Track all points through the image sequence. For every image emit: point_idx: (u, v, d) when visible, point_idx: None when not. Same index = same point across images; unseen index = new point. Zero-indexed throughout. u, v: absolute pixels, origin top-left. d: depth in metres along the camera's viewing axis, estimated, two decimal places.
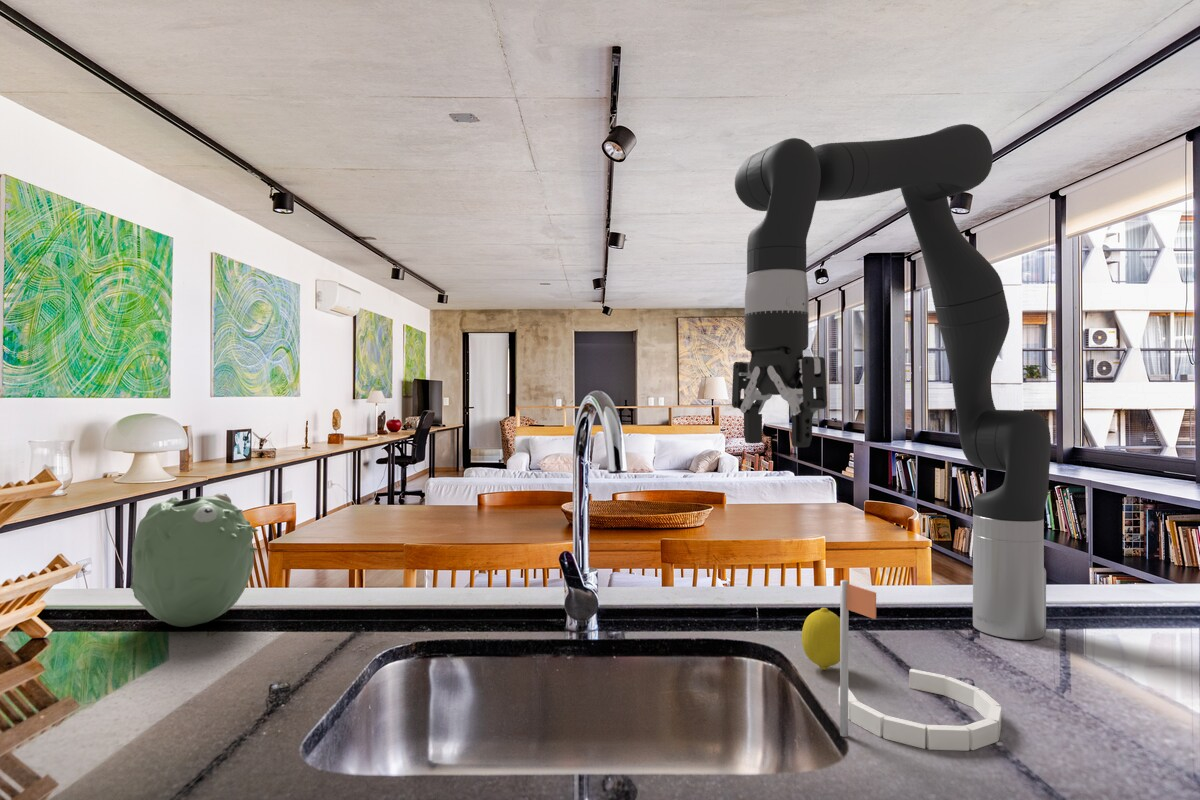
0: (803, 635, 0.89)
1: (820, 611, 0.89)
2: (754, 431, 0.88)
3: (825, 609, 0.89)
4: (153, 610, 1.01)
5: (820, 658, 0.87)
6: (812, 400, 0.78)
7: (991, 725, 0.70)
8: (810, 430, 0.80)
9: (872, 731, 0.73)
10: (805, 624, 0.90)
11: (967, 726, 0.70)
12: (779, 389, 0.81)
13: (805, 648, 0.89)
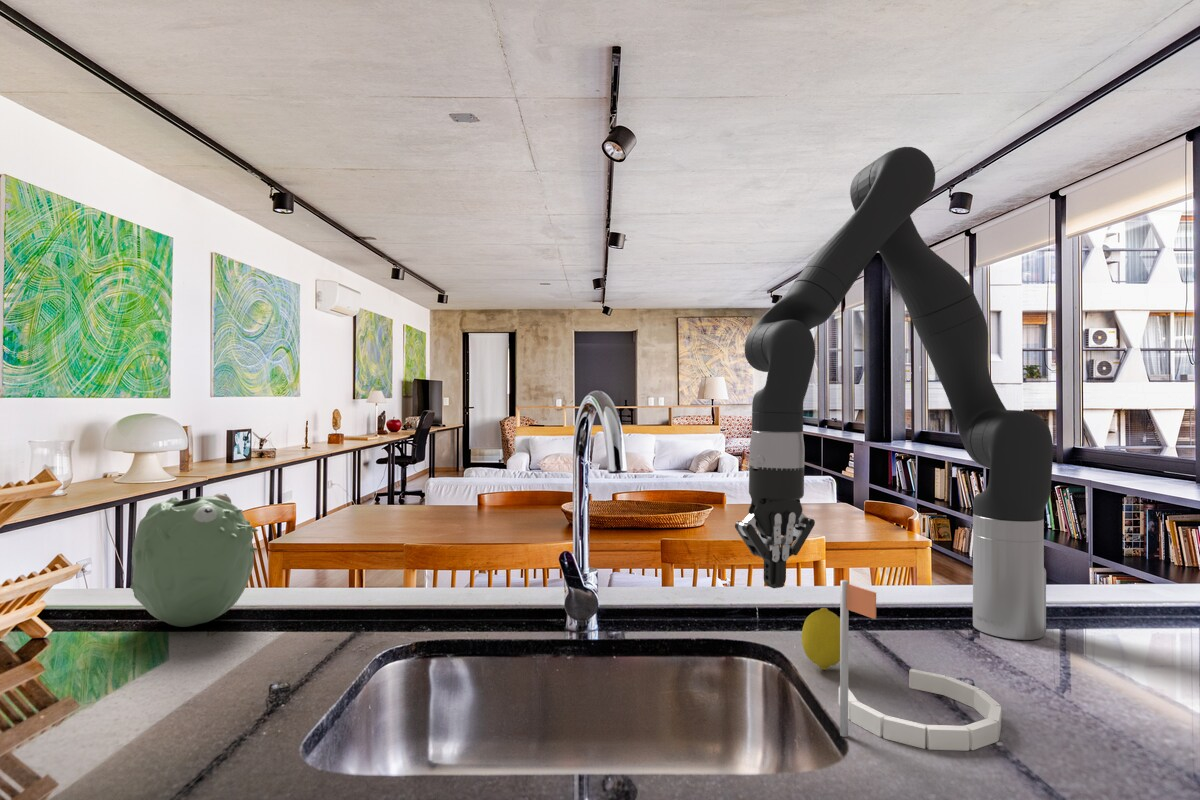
0: (803, 635, 0.89)
1: (820, 611, 0.89)
2: None
3: (825, 609, 0.89)
4: (153, 610, 1.02)
5: (820, 658, 0.87)
6: None
7: (991, 725, 0.70)
8: None
9: (872, 731, 0.73)
10: (805, 624, 0.90)
11: (967, 726, 0.70)
12: (787, 534, 0.97)
13: (805, 648, 0.89)
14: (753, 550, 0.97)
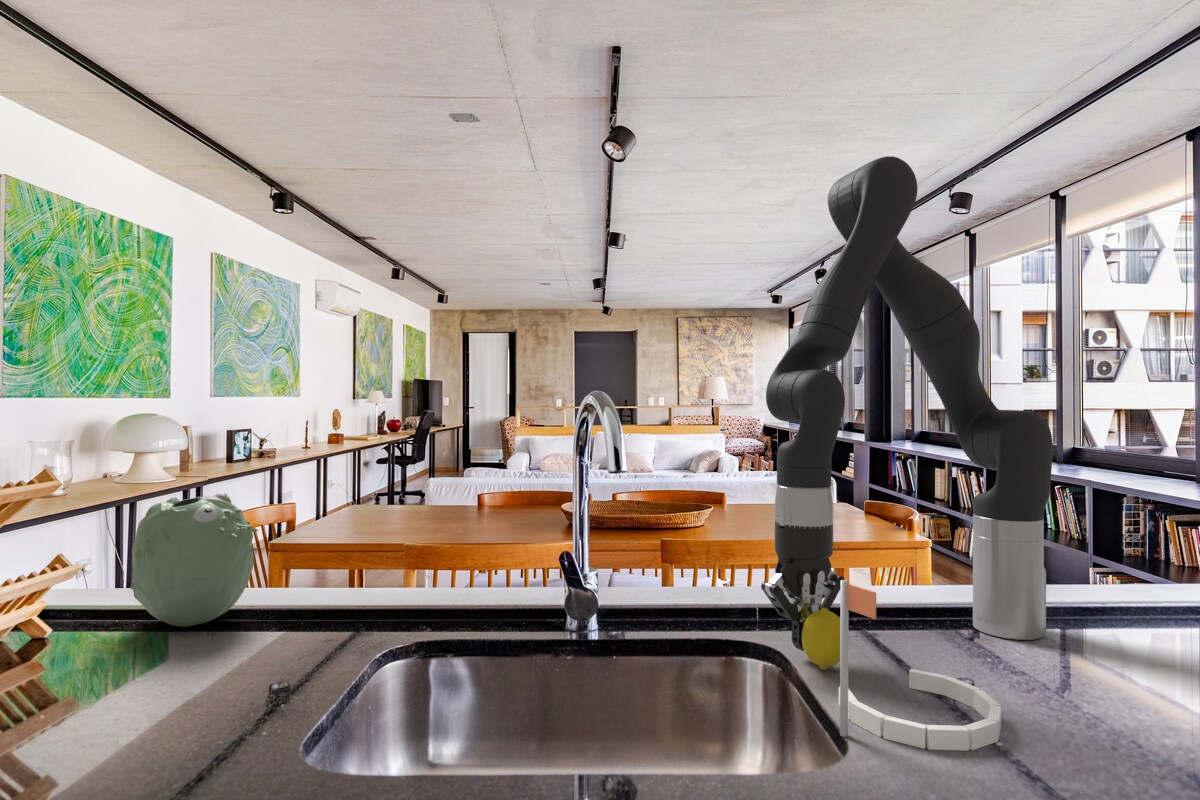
0: (803, 635, 0.89)
1: (820, 611, 0.89)
2: None
3: (825, 609, 0.89)
4: (153, 610, 1.01)
5: (821, 658, 0.87)
6: None
7: (991, 725, 0.70)
8: None
9: (872, 731, 0.73)
10: (805, 624, 0.89)
11: (967, 726, 0.70)
12: (816, 594, 0.92)
13: (805, 648, 0.89)
14: (780, 611, 0.92)
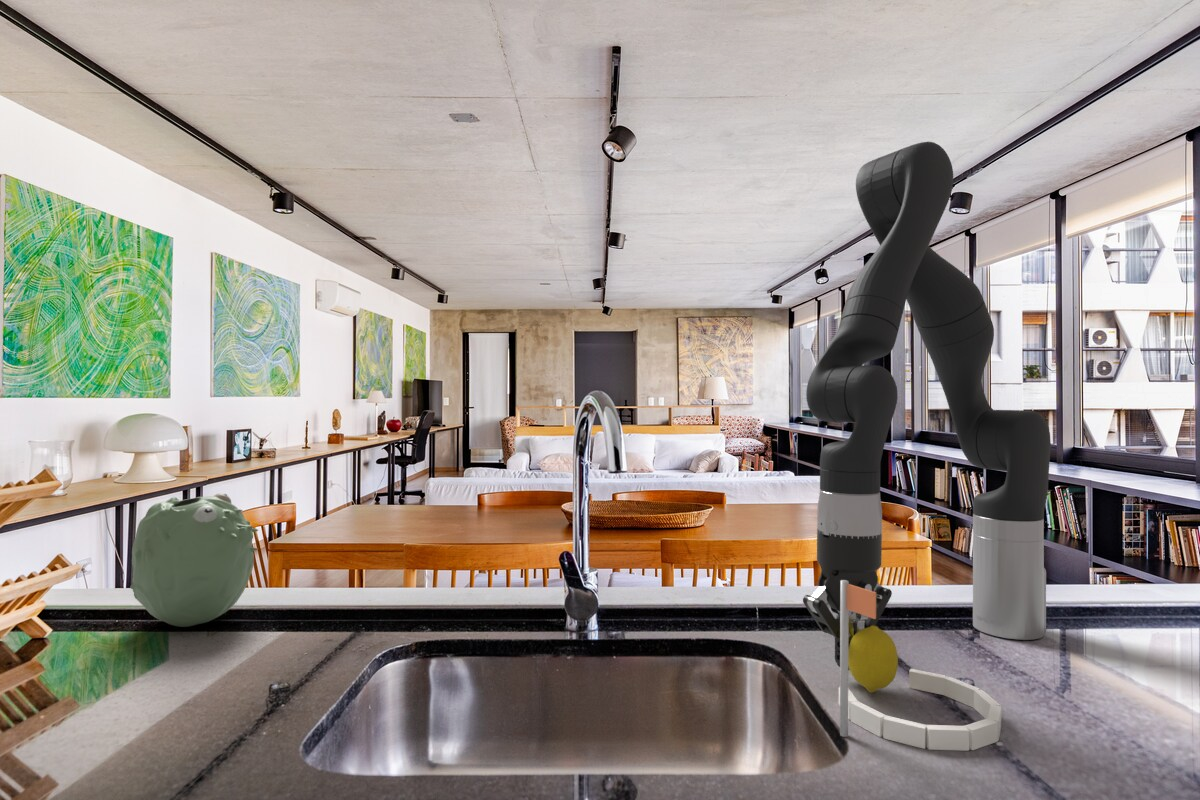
0: (850, 655, 0.82)
1: (870, 629, 0.82)
2: None
3: (875, 627, 0.82)
4: (153, 610, 1.02)
5: (870, 681, 0.80)
6: None
7: (991, 725, 0.70)
8: None
9: (872, 731, 0.73)
10: (853, 643, 0.82)
11: (967, 726, 0.70)
12: None
13: (852, 669, 0.82)
14: (823, 627, 0.85)
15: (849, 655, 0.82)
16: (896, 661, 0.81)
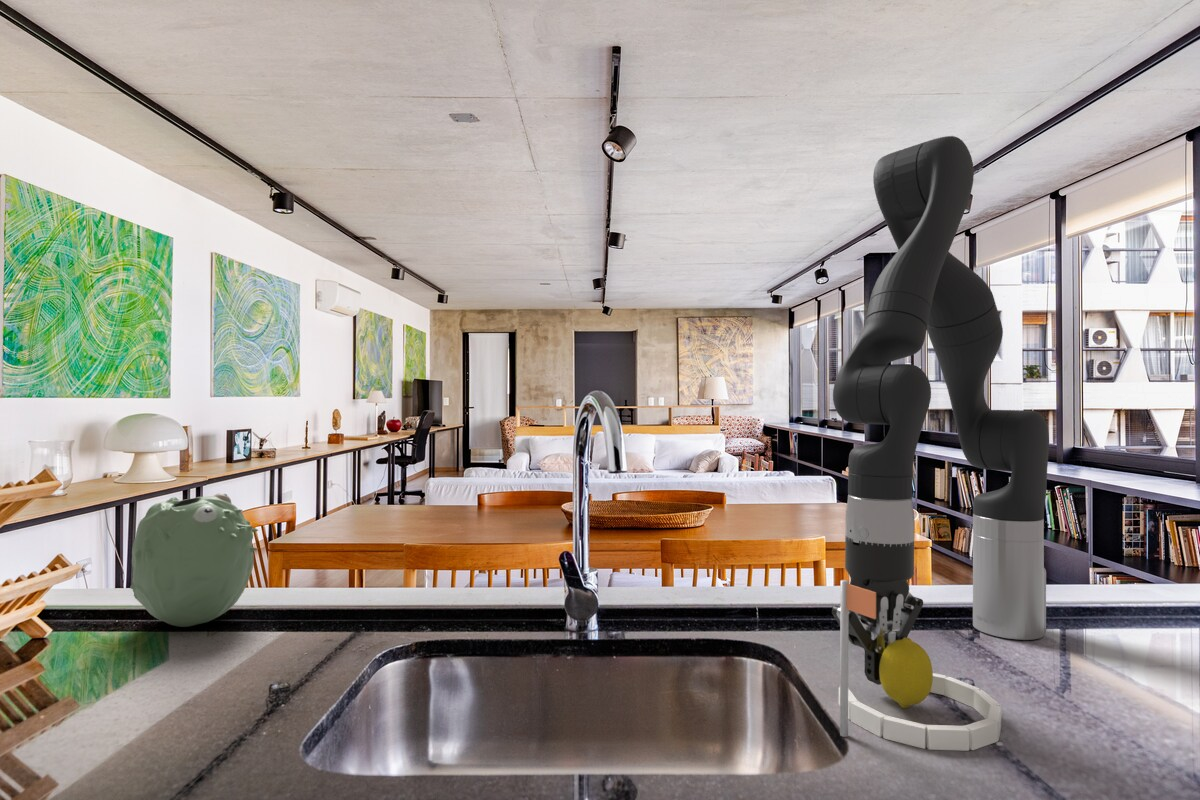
0: (883, 669, 0.78)
1: (903, 642, 0.78)
2: None
3: (909, 640, 0.78)
4: (153, 610, 1.01)
5: (904, 696, 0.76)
6: None
7: (991, 725, 0.70)
8: None
9: (872, 731, 0.73)
10: (885, 656, 0.78)
11: (967, 726, 0.70)
12: (894, 620, 0.81)
13: (885, 684, 0.78)
14: (853, 639, 0.81)
15: (881, 669, 0.78)
16: (931, 675, 0.77)
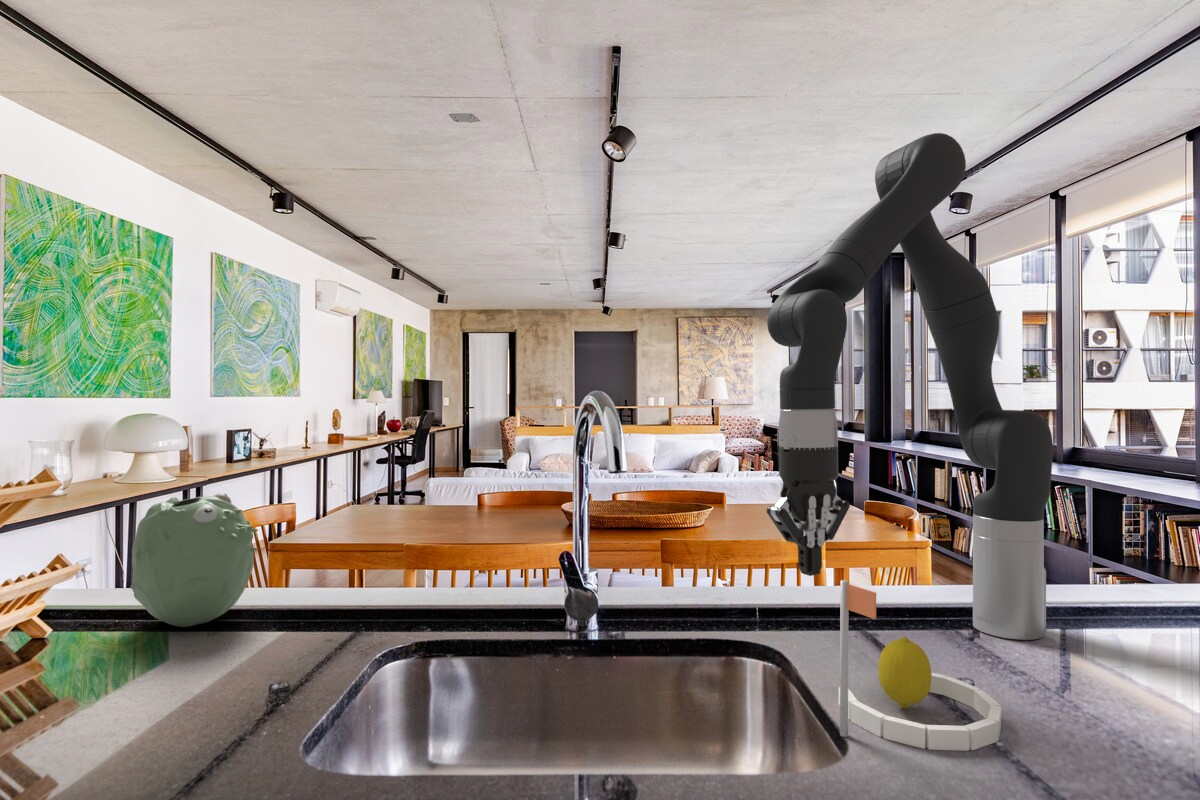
0: (881, 669, 0.78)
1: (901, 641, 0.78)
2: None
3: (906, 639, 0.78)
4: (153, 610, 1.01)
5: (903, 696, 0.76)
6: None
7: (991, 725, 0.70)
8: None
9: (872, 731, 0.73)
10: (883, 656, 0.78)
11: (967, 726, 0.70)
12: (822, 518, 0.91)
13: (884, 684, 0.78)
14: (786, 536, 0.91)
15: (880, 669, 0.79)
16: (930, 674, 0.77)
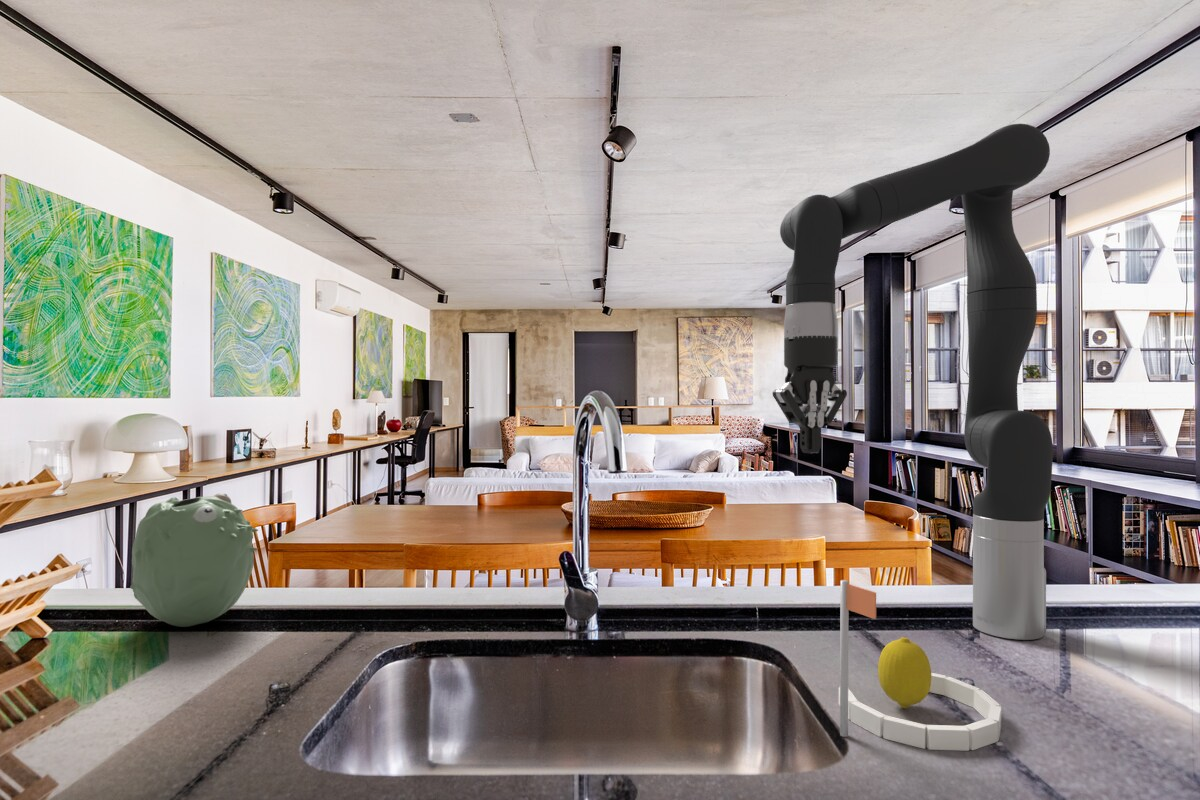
0: (881, 669, 0.78)
1: (900, 641, 0.78)
2: None
3: (906, 639, 0.78)
4: (153, 610, 1.01)
5: (903, 696, 0.76)
6: None
7: (991, 725, 0.70)
8: None
9: (872, 731, 0.73)
10: (883, 656, 0.78)
11: (967, 726, 0.70)
12: (822, 401, 1.02)
13: (884, 684, 0.78)
14: (790, 417, 1.02)
15: (880, 669, 0.79)
16: (930, 674, 0.77)
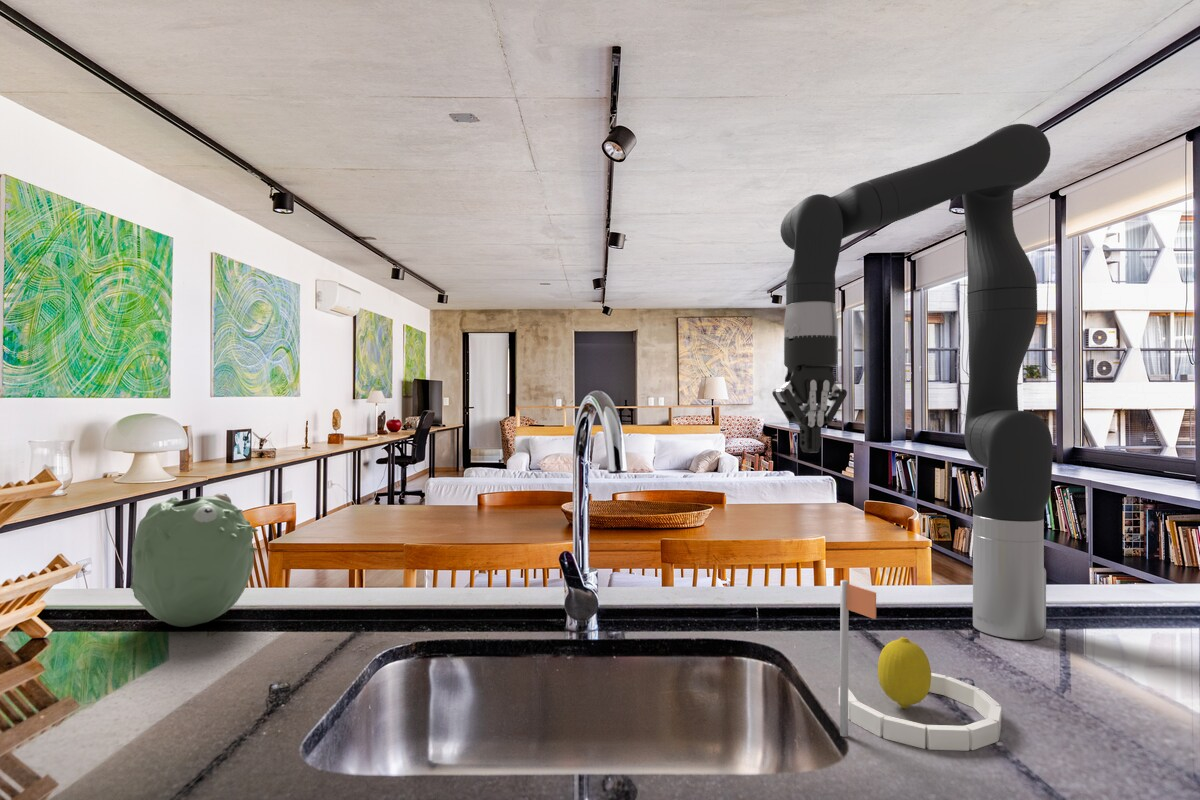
0: (881, 669, 0.78)
1: (900, 641, 0.78)
2: None
3: (906, 639, 0.78)
4: (153, 610, 1.01)
5: (903, 695, 0.76)
6: None
7: (991, 725, 0.70)
8: None
9: (872, 731, 0.73)
10: (883, 656, 0.78)
11: (967, 726, 0.70)
12: (822, 401, 1.02)
13: (884, 684, 0.78)
14: (790, 417, 1.02)
15: (879, 669, 0.79)
16: (929, 674, 0.77)
